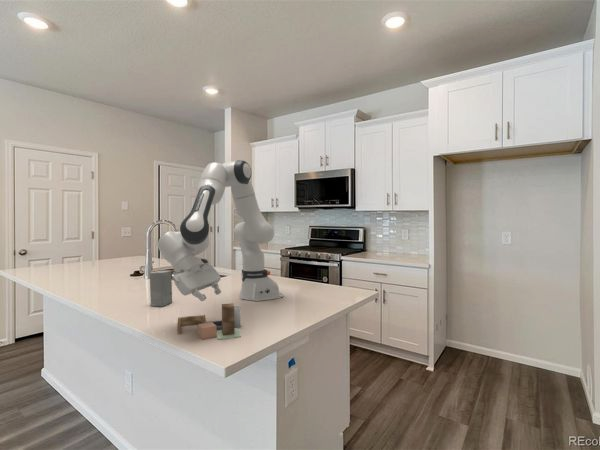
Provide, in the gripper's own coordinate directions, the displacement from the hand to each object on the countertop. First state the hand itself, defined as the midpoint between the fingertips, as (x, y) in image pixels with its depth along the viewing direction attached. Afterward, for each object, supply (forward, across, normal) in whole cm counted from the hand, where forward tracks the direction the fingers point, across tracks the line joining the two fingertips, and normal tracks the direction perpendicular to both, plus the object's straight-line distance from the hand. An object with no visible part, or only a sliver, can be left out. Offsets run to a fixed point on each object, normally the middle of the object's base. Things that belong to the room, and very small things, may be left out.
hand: (212, 296), depth 119 cm
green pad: (+14, 0, +4) cm, 15 cm away
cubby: (+2, +1, +16) cm, 16 cm away
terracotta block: (+10, -4, +9) cm, 14 cm away
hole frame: (+9, +4, +10) cm, 14 cm away
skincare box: (-21, +22, +40) cm, 51 cm away
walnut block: (+14, 0, +4) cm, 14 cm away
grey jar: (+12, +8, +6) cm, 16 cm away
